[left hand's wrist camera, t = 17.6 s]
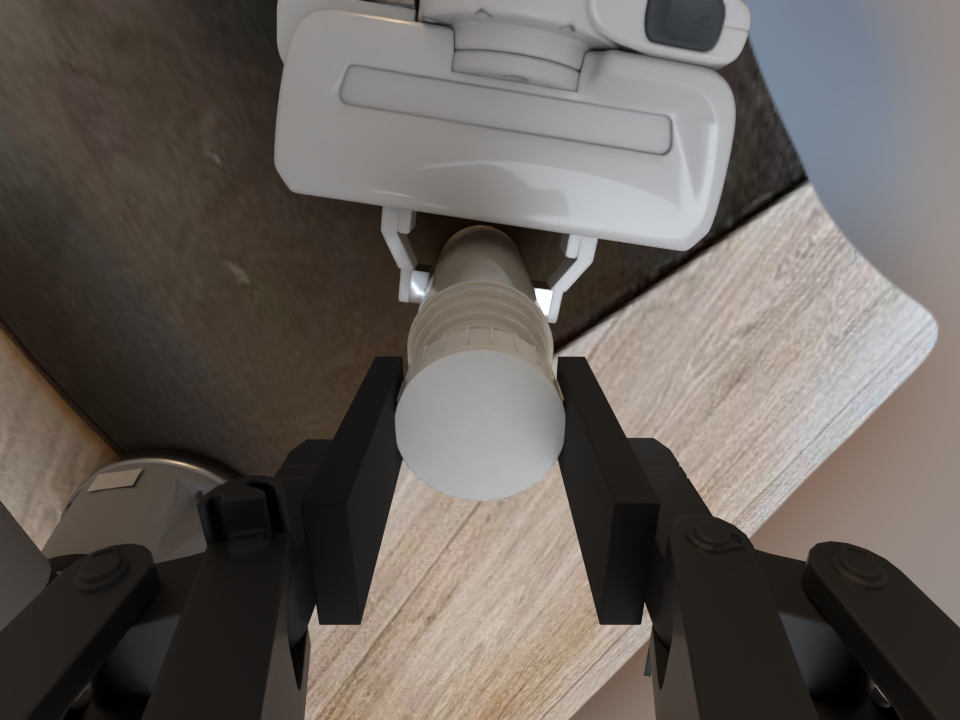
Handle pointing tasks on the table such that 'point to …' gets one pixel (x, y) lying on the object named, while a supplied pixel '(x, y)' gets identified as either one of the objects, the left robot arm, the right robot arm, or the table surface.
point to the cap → (480, 415)
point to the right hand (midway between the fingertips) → (478, 309)
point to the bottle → (480, 293)
